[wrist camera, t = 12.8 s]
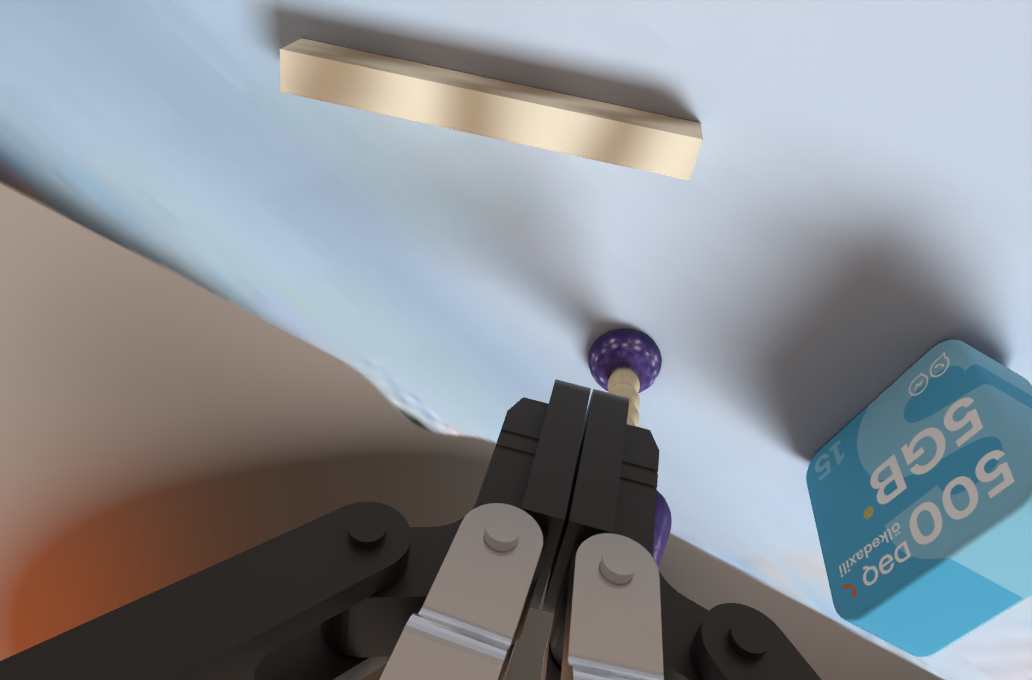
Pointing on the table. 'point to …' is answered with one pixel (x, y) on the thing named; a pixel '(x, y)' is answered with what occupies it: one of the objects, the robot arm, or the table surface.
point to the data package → (930, 502)
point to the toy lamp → (631, 394)
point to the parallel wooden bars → (491, 108)
